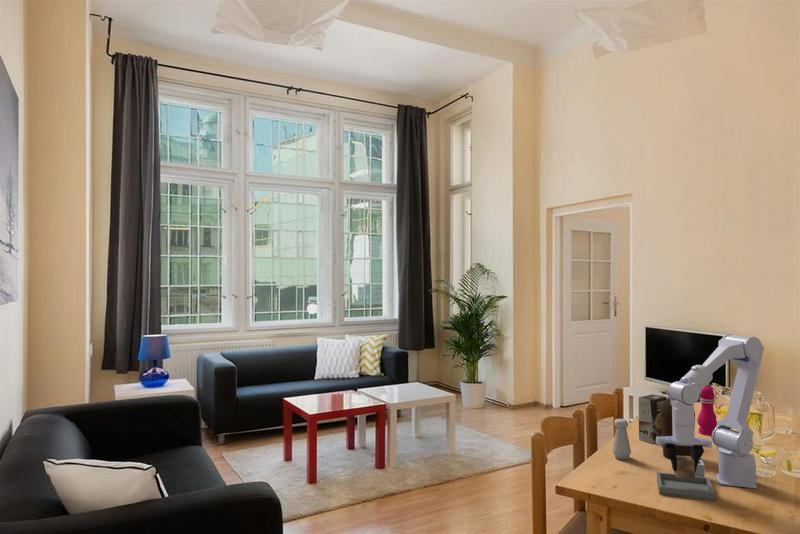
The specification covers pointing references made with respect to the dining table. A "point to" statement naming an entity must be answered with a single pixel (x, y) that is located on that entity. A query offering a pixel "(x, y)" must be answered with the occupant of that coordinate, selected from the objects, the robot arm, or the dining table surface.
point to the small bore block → (685, 467)
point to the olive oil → (671, 429)
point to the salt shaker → (621, 440)
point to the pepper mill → (707, 412)
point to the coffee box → (650, 417)
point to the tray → (685, 486)
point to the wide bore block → (700, 469)
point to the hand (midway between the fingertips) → (684, 470)
